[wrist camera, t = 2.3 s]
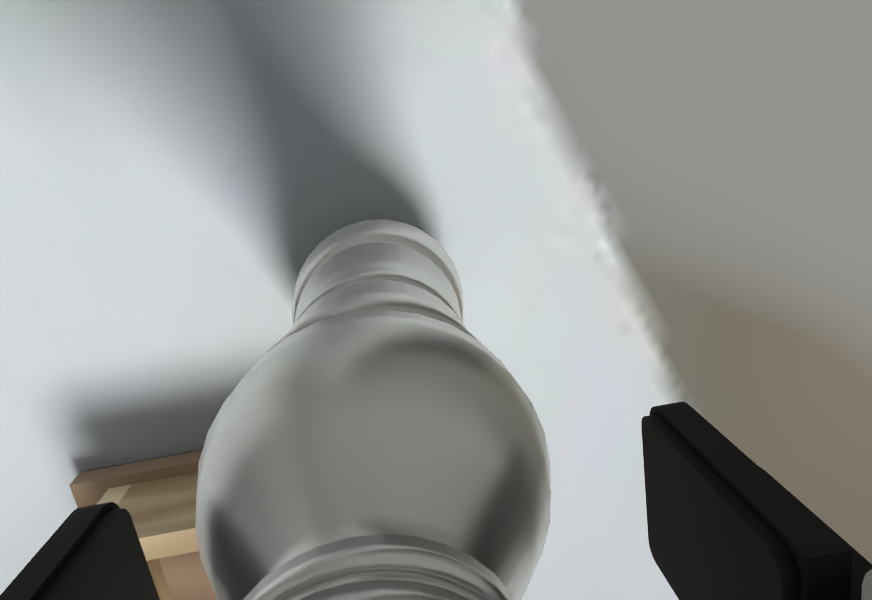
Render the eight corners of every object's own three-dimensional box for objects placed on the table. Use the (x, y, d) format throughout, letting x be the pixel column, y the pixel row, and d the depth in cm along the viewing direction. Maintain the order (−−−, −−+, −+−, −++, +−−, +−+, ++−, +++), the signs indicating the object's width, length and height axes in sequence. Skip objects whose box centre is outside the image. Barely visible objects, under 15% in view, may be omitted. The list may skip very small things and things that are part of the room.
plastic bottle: (288, 345, 25) (-26, 1062, 6) (320, 191, 23) (29, 470, 4) (432, 375, 26) (578, 1069, 7) (473, 229, 24) (824, 601, 5)
